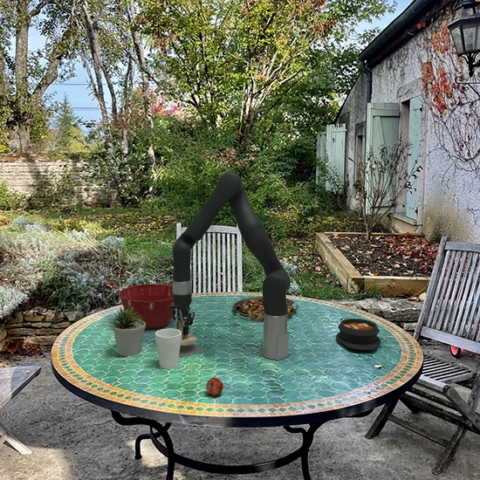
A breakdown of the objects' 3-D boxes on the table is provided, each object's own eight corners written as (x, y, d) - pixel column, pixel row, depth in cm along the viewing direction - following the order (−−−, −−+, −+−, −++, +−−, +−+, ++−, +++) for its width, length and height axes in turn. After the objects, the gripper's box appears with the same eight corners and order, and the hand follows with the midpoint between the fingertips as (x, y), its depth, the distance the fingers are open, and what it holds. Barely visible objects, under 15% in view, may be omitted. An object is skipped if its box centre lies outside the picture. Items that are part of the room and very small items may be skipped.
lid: (202, 340, 190) (202, 321, 189) (179, 347, 183) (179, 327, 182) (186, 333, 198) (185, 315, 197) (163, 340, 191) (163, 320, 190)
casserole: (386, 355, 190) (387, 335, 189) (338, 353, 192) (339, 333, 190) (374, 333, 215) (376, 315, 213) (332, 331, 216) (333, 313, 215)
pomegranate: (209, 394, 159) (198, 388, 154) (217, 378, 161) (206, 371, 155) (222, 401, 156) (211, 395, 150) (230, 385, 158) (220, 378, 152)
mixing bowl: (189, 330, 215) (189, 296, 212) (124, 337, 204) (123, 302, 202) (174, 312, 240) (173, 282, 238) (115, 317, 230) (114, 286, 228)
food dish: (281, 330, 221) (281, 313, 219) (220, 318, 237) (219, 303, 236) (309, 308, 251) (310, 294, 249) (254, 299, 267) (253, 286, 266)
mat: (206, 352, 190) (206, 350, 190) (181, 360, 182) (181, 358, 182) (183, 340, 202) (183, 339, 202) (158, 347, 194) (158, 345, 194)
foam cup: (182, 361, 181) (182, 328, 179) (180, 372, 172) (180, 337, 170) (157, 361, 180) (157, 328, 178) (153, 372, 171) (153, 337, 169)
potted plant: (108, 349, 192) (107, 300, 188) (143, 345, 196) (142, 297, 193) (111, 361, 180) (110, 309, 177) (148, 356, 185) (147, 306, 182)
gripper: (200, 293, 185) (201, 336, 188) (179, 286, 195) (180, 327, 198) (184, 296, 180) (185, 340, 183) (163, 289, 190) (164, 331, 193)
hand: (182, 333), depth 190 cm, fingers closed on lid, 3 cm apart
